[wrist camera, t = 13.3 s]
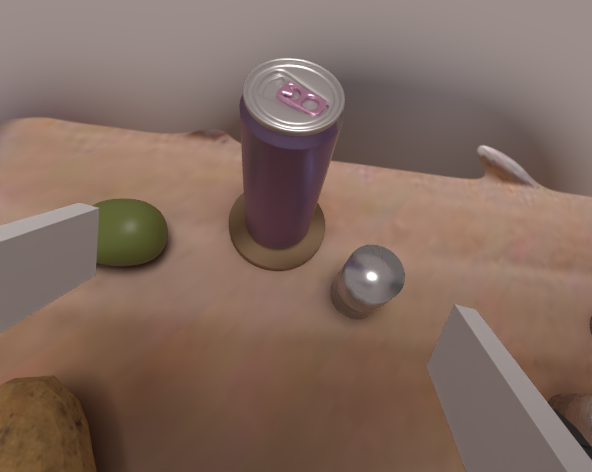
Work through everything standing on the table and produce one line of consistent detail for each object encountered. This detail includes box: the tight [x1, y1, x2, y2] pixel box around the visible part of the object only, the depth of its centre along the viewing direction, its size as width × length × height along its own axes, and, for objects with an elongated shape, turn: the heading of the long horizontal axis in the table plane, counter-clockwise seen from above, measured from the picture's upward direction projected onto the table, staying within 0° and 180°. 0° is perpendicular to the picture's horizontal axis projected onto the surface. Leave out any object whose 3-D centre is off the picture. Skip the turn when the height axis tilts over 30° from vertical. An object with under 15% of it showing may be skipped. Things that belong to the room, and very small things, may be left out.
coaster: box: [229, 193, 325, 271], centre depth 32 cm, size 9×9×1 cm
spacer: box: [331, 245, 405, 319], centre depth 28 cm, size 4×4×6 cm
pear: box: [93, 199, 168, 266], centre depth 28 cm, size 6×5×10 cm
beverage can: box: [240, 58, 345, 249], centre depth 25 cm, size 6×6×15 cm
